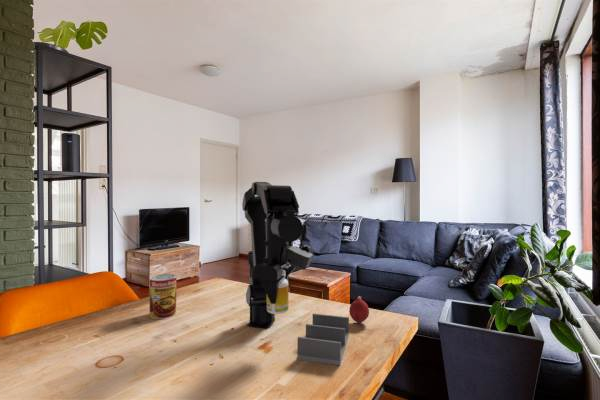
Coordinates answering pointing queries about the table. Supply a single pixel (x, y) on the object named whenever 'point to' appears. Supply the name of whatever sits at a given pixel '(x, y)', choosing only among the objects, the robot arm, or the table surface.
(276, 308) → the supplement bottle
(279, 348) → the table surface
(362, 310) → the onion
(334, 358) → the rack
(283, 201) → the robot arm
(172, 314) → the canned food
